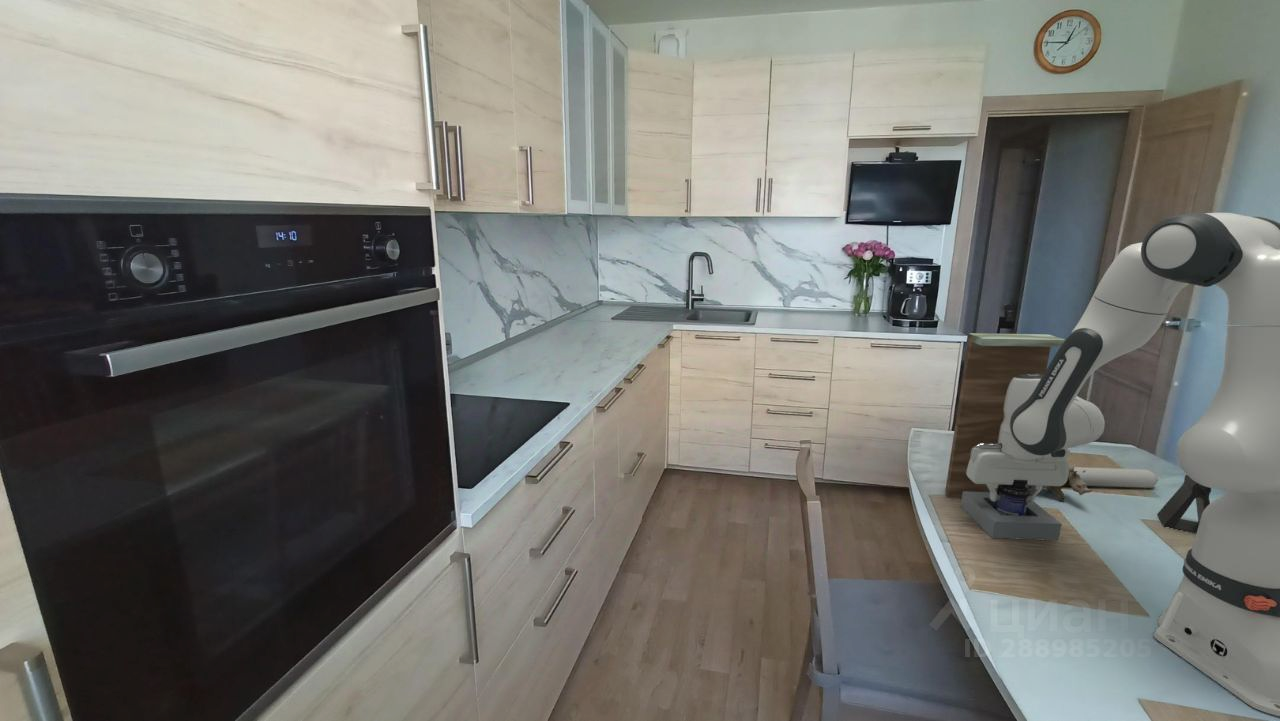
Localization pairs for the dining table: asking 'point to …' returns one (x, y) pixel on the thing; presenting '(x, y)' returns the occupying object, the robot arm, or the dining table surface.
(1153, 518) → the dining table surface
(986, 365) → the wood grain plank
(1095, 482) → the tube
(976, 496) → the socket block
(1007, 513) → the pill bottle
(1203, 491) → the phone stand
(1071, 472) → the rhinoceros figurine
